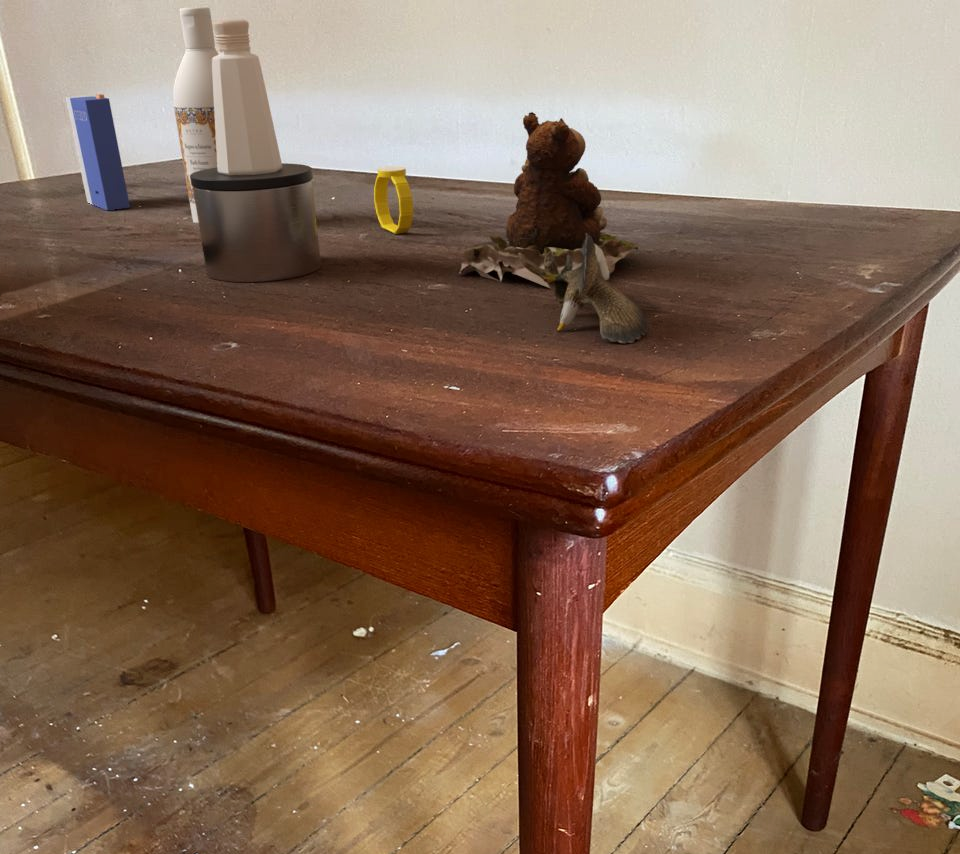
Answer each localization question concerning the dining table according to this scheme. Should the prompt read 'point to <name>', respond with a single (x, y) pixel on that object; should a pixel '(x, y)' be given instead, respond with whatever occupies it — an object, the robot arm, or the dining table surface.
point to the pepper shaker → (241, 105)
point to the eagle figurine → (591, 293)
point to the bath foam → (196, 97)
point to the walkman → (98, 151)
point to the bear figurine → (549, 209)
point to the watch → (403, 194)
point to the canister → (257, 224)
